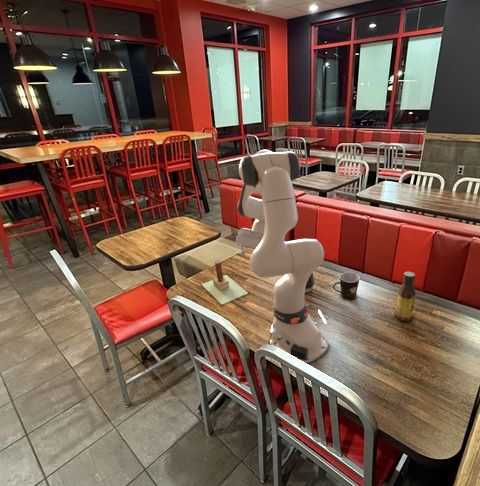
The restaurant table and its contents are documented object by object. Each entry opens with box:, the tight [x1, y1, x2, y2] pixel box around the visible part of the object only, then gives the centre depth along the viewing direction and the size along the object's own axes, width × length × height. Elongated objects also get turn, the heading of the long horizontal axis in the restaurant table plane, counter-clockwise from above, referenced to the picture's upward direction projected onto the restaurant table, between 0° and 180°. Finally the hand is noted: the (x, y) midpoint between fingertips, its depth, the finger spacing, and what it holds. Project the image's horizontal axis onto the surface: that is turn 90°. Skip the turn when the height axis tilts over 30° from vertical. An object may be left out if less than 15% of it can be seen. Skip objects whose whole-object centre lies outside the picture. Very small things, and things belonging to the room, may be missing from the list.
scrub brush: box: [212, 260, 229, 291], centre depth 149 cm, size 7×5×13 cm
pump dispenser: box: [305, 272, 315, 294], centre depth 144 cm, size 10×10×15 cm
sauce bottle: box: [395, 271, 417, 322], centre depth 122 cm, size 6×6×20 cm
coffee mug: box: [332, 271, 361, 301], centre depth 139 cm, size 12×9×10 cm
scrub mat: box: [201, 274, 249, 305], centre depth 150 cm, size 22×14×1 cm, turn 36°
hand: (251, 257), depth 151 cm, fingers open, 8 cm apart
